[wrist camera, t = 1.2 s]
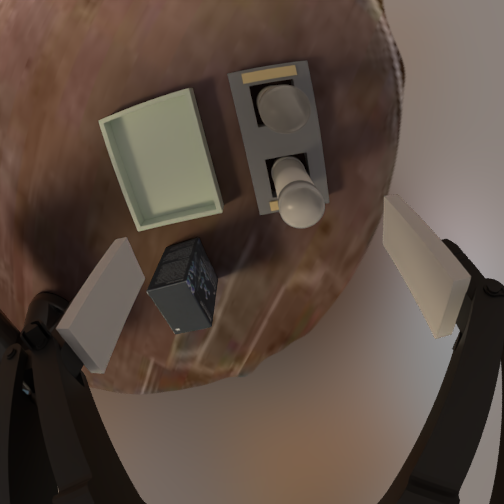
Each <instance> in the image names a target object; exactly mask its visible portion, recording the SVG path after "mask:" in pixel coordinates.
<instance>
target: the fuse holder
mask: <svg viewBox="0 0 504 504" xmlns="http://www.w3.org/2000/svg"><path fill="white" fill-rule="evenodd" d="M227 75H228V79H229V83H230V88H231V92H232V96H233V100H234V104H235V108H236V113H237V117H238V121H239V125H240V130H241V134H242V138H243V143H244V147H245V151H246V156H247V160H248V164H249V169H250V173H251V177H252V182H253V186H254V191H255V195H256V200H257V204H258V209H259V213H260V215H264V214H269V213H275V212H279V207H278V198H277V193H276V191H273V192H271V187H270V182H269V177H268V172H267V167H266V162H265V160H266V159H271V158H277V157H282V156H288V155H294V154H300V153H304V155H305V161H306V168H307V174H308V175H309V177H310V179H311V180H312V182H313V184H314V185H315V186H316V187H317V189H318V190H319V192H320V193H321V195H322V197H323V199H324V203H329V195H328V186H327V178H326V170H325V162H324V155H323V147H322V141H321V134H320V128H319V121H318V115H317V109H316V104H315V98H314V93H313V87H312V82H311V77H310V72H309V67H308V62H307V60H306V61H297V62H290V63H283V64H276V65H270V66H264V67H258V68H253V69H248V70H243V71H238V72H233V73H229V74H227ZM289 79H291V84H292V86H294V87H297V88H298V89H300V90H301V91H303V92H304V94H305V95H306V96H307V98H308V99H309V102H310V106H311V113H310V117H309V120H308V122H307V123H306V124H305V126H304V127H303V128H301V129H300V130H298V131H296V132H294V133H289V134H282V133H277V132H275V131H273V130H271V129H269V128H268V127H267V126H266V125H265V124H260V125H257V120H256V116H255V111H254V107H253V102H252V98H251V93H250V89H249V86H253V85H258V84H264V83H270V82H276V81H282V80H289Z"/></svg>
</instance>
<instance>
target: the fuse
mask: <svg viewBox="0 0 504 504" xmlns="http://www.w3.org/2000/svg"><path fill="white" fill-rule="evenodd" d="M271 175H272V179H273V181H274V185H275V189H276V193H277V198H278V207H279V212H280V215H281V217H282V219H283V220H284V222H285V223H287V224H288V225H290V226H292V227H294V228H307V227H310V226H312V225H314V224H316V223H317V222H318V221H319V220H320V219H321V217H322V215H323V213H324V210H325V203H324V199H323V197H322V195H321V193H320V192H319V190H318V189H317V187H316V186H315V185H314V184H313V182H312V180H311V179H310V177H309V175H308V174H307V172H306V170H305V168H304V166H303V164H302V162H301V161H300V160H299V159H298V158H297V157H295V156H293V155H288V156H282V157H278V158H276V159H275V160H274V162H273V163H272V166H271Z"/></svg>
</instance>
